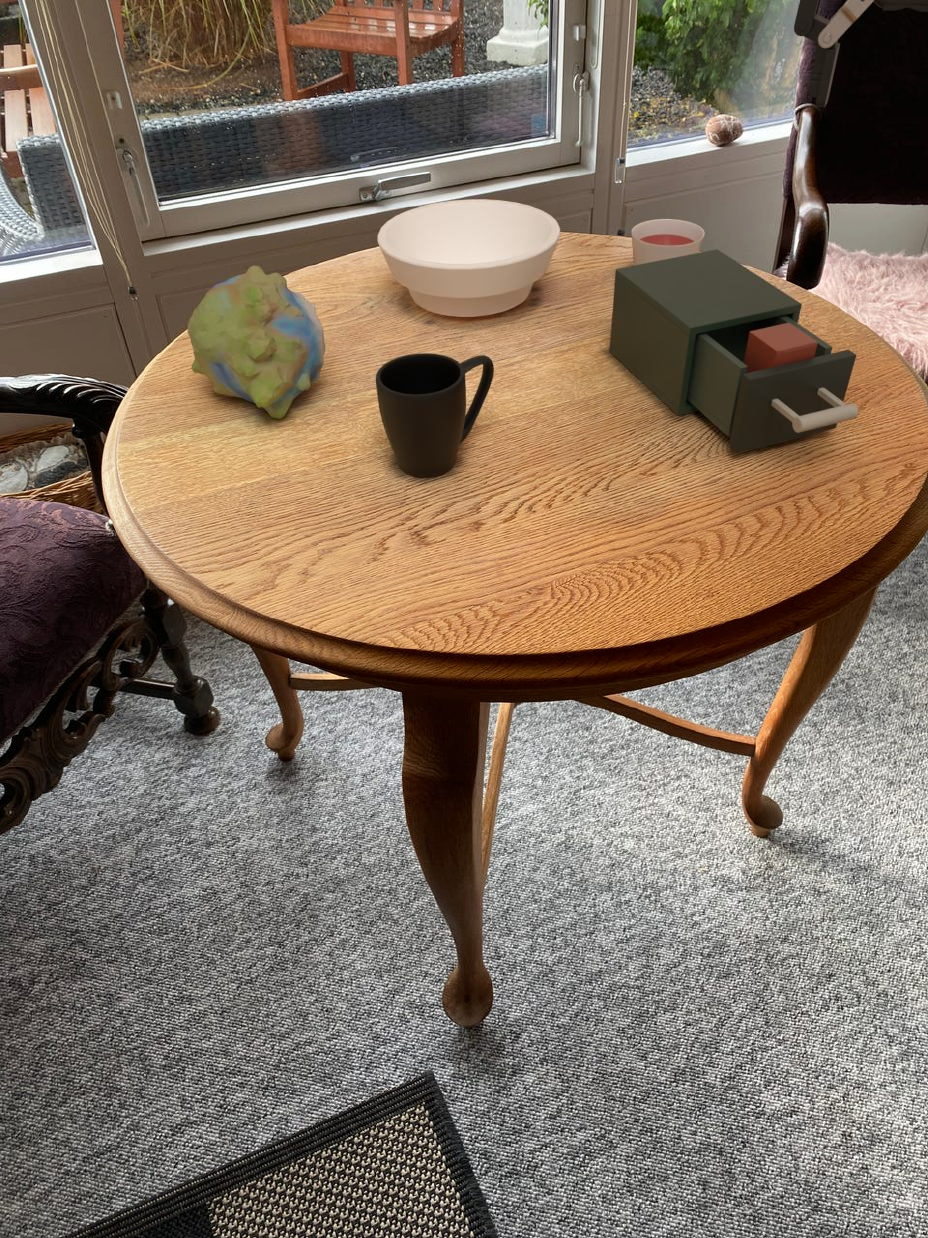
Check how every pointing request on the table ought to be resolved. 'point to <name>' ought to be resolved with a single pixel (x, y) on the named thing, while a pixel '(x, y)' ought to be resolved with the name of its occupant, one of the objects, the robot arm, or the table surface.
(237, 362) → the decorative rock
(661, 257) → the candle
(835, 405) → the drawer
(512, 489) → the table surface
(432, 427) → the mug
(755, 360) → the block
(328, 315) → the table surface
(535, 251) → the bowl
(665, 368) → the cabinet
